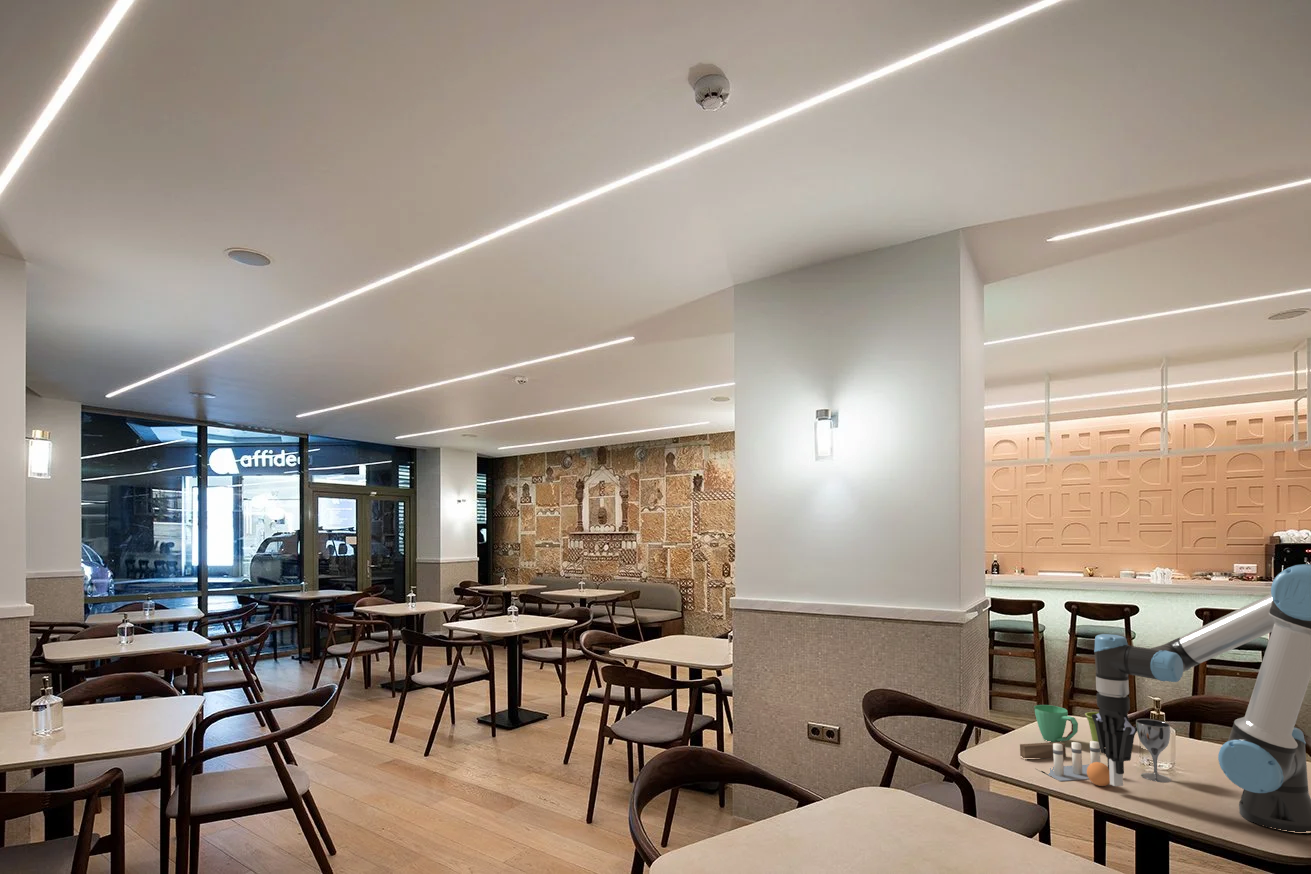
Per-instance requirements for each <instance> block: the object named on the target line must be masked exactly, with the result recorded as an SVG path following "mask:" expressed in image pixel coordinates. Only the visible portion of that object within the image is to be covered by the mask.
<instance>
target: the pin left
mask: <svg viewBox="0 0 1311 874" xmlns="http://www.w3.org/2000/svg"><path fill="white" fill-rule="evenodd" d="M1053 756H1054V758H1053V767H1054V774H1055V775H1056V776H1064V766H1065V765H1064V758H1063V745H1062V744H1059V743H1053Z"/></svg>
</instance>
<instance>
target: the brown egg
mask: <svg viewBox="0 0 1311 874" xmlns="http://www.w3.org/2000/svg"><path fill="white" fill-rule="evenodd" d="M1087 776H1088V778H1089V779H1088V780H1090V781H1091V783H1092V784H1094V785H1096V786H1100V787H1107V786H1108V785H1111V784H1110V774H1109V769H1108V765H1107V764H1105V763H1102V762H1101V761H1100V762H1094V763H1091V762H1090V763H1089V766H1088V768H1087Z"/></svg>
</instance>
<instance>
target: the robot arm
mask: <svg viewBox="0 0 1311 874" xmlns="http://www.w3.org/2000/svg"><path fill="white" fill-rule="evenodd" d="M1268 634H1270V637H1269V640H1268V643H1267V645H1266V649H1265V652H1264V654H1263V655H1264V656H1263V658H1262V662H1261V664H1260V667H1259V670H1258V671H1259V672H1258V674H1257V676H1256V680H1255V684H1254V687H1253V690H1252V692H1251V695H1250V696H1251V697H1250V698H1249V699H1250V700H1249V703H1248V705H1247V708H1246V712H1245V715H1244V716H1243V717H1239V718H1237V719H1235V720H1234V721H1233V724H1232V728H1231V730H1230V734H1229V737H1228V740H1227V741H1226V742H1224V743H1223V744H1222V745H1221V746H1220V749H1219V751H1218V756H1217V758H1218V764H1219V767H1220V769H1221V770H1222V772H1223V774H1224V775H1225V776H1226V778H1227V779H1228V780H1230V781H1231V782H1232V783H1233V784H1234V785H1236V787H1239V788H1240V789H1242V793H1241V796H1240V800H1239V803H1238V809H1239V811H1238V813H1239V815H1240V816H1241V817H1242V818H1244V819H1245V820H1247V821H1248V822H1250V823H1253V822H1254V823H1253V824H1255V823H1257V824H1256V825H1258V824H1259V825H1258V826H1261V825H1264V826H1267V827H1272V828H1276V829H1281V830H1287V831H1295V832H1306V831H1311V797H1310V792H1309V782H1308V780H1309V779H1308V778H1309V777H1308V768H1307V767H1308V765H1307V753H1306V745H1307V742H1306V741H1305V736H1304V732H1303V731H1302V730H1301V729H1300V728H1298V727H1295V725H1296V723H1297V719H1298V716H1299V714H1300V710H1301V707H1302V705H1303V704H1302V703H1303V701H1304V698H1305V696H1306V692H1307V690H1308V686H1309V683H1310V680H1311V563H1308V564H1307V563H1306V564H1305V563H1304V564H1296V565H1292V566H1290V567H1287V568H1286V569H1283V570H1282V571H1281V572H1279V573H1278V574H1277V575H1276V576H1275V578H1274V579H1273V581H1272V584H1271V588H1270V594H1267V595H1265V596H1263V597H1261V598H1259V599H1257V600H1255V601H1253V602H1251V603H1249V604H1246V605H1244V606H1242V607H1241V608H1238V609H1236V610H1234V611H1231V612H1230V613H1228V614H1226V615H1224V616H1221V617H1219V618H1217V619H1215V620H1213V621H1210V622H1208V623H1207V624H1204V625H1203V626H1201V627H1198V628H1195V629H1194V630H1191V631H1190V632H1188V633H1186V634H1184V635H1181V636H1180V637H1177V638H1175V639H1173V640H1171V641H1168V642H1166V643H1164V644H1161V645H1158V646H1153V647H1150V648H1149V647H1141V646H1134V645H1130V644H1129V643H1128V641H1127V638H1126V636H1122V635H1120V634H1110V633H1101V634H1097V635H1096V636H1095V638H1094V650H1093V652H1094V663H1095V690H1096V691H1097V693H1096V706H1097V708H1099V710H1098V712H1099V713H1098V714H1092V719H1093V721H1094V723H1095V727H1096V732H1097V736H1098V741H1099V746H1100V754H1101V753H1102V754H1104V755H1105V756H1106V758H1107V767H1108V769H1109V774H1110V784H1109V785H1110V786H1113V787H1123V786H1124V773H1125V767H1124V766H1125V763H1124V762H1130V761H1131V759H1132V752H1133V747H1134V741H1135V736H1136V734H1137V727H1136V726H1132V724H1131V723H1130V719H1129V716H1128V713H1129V711H1130V710H1131V704H1130V703H1131V701H1130V697H1129V696H1128V695H1129V694H1130V687H1129V686H1130V685H1129V684H1130V683H1129V678H1130V677H1129V675H1130V676H1137V677H1141V678H1147V679H1151V680H1156V681H1157V680H1158V681H1160V682H1171V683H1178V682H1179V681H1181V678H1182V677H1183V673H1184V672H1186V671H1189V670H1191V668H1195V667H1196V666H1198V665H1199V664H1202V663H1204V662H1206V661H1209V660H1211V659H1213V658H1215V657H1219V656H1220V655H1223V654H1224V653H1226V652H1229V651H1232V650H1233V649H1236V648H1238V647H1241V646H1243V645H1245V644H1248V643H1249V642H1252V641H1255V640H1256V639H1258V638H1262V637H1263V636H1266V635H1268ZM1264 826H1263V827H1264ZM1267 827H1266V828H1267Z"/></svg>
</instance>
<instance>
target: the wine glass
mask: <svg viewBox="0 0 1311 874" xmlns="http://www.w3.org/2000/svg"><path fill="white" fill-rule="evenodd" d="M1135 727H1137V732H1136V734H1137V737H1138V739H1139V741H1140V743H1141V744H1142V745H1143V747H1144V748H1145V749H1146V751H1148V752H1149V753H1150V755H1151V758H1152V759H1151V760H1152V764H1153V772H1143V773H1141V774H1140V777H1142V778H1144V779H1146V780H1148V781H1151V780H1152V782H1156V781H1157V783H1170V782H1172V779H1171V778H1170V777H1168V776H1166V775H1163V774H1160V773H1159V772H1158V759H1159V755H1160V754H1161V753H1163V752H1164V750H1166V748H1167V747H1168V746H1169V744H1170V740H1171V725H1170V723H1169V722H1166V721H1162V720H1157V719H1153V718H1152V719H1151V718H1138V719H1136V720H1135Z"/></svg>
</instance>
